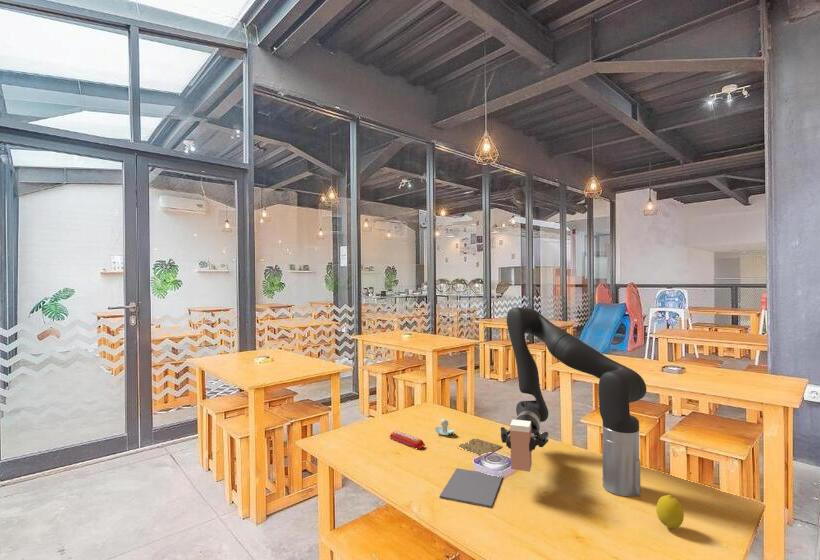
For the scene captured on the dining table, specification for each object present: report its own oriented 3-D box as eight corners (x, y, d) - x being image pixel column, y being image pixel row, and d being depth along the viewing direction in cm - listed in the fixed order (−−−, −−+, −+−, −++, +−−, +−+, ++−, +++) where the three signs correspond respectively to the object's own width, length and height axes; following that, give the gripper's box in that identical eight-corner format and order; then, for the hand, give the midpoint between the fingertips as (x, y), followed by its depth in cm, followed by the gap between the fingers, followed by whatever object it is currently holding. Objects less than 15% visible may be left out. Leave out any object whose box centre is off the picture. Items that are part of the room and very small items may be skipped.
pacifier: (439, 430, 166) (433, 435, 161) (440, 414, 167) (433, 418, 161) (457, 433, 163) (451, 438, 158) (457, 417, 163) (451, 421, 158)
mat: (502, 477, 127) (502, 475, 127) (491, 507, 110) (491, 505, 110) (456, 469, 132) (456, 468, 132) (439, 497, 115) (439, 495, 115)
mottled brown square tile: (504, 447, 150) (504, 445, 150) (485, 458, 141) (485, 455, 141) (475, 439, 158) (475, 436, 158) (455, 448, 149) (455, 446, 149)
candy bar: (387, 439, 158) (387, 431, 158) (395, 436, 160) (395, 428, 160) (419, 451, 147) (419, 443, 146) (426, 448, 149) (426, 440, 149)
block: (531, 464, 119) (531, 421, 119) (529, 471, 115) (529, 426, 115) (513, 461, 121) (512, 419, 121) (510, 469, 116) (510, 424, 117)
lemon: (673, 521, 104) (673, 488, 104) (689, 535, 98) (689, 500, 98) (651, 522, 104) (651, 489, 104) (665, 536, 98) (665, 501, 98)
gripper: (502, 411, 134) (493, 429, 118) (551, 416, 129) (547, 435, 113) (503, 435, 134) (493, 456, 118) (551, 441, 129) (547, 464, 113)
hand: (519, 446), depth 116 cm, fingers closed on block, 5 cm apart
